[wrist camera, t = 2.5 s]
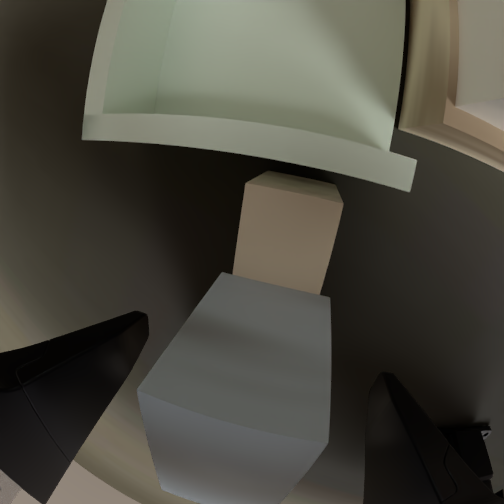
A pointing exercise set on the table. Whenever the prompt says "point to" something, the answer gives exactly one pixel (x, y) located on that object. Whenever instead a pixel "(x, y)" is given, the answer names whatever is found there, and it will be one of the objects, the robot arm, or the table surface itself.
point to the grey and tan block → (252, 357)
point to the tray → (255, 80)
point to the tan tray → (442, 86)
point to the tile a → (481, 60)
